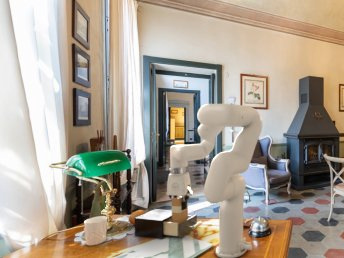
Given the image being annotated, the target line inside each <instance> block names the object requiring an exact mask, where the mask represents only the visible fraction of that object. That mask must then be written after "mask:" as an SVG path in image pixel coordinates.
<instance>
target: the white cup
mask: <svg viewBox="0 0 344 258" xmlns="http://www.w3.org/2000/svg"><path fill="white" fill-rule="evenodd" d="M83 225H84V227H83V228H84V239H85V245H86V246H96V245H99V244H102V243H104V242H105V241H106V240H107V232H108V231H107V217H106V216H98V217H93V218H90V219H89V218H87V219H86V220H84V222H83Z"/></svg>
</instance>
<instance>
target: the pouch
mask: <svg viewBox="0 0 344 258" xmlns="http://www.w3.org/2000/svg"><path fill="white" fill-rule="evenodd" d="M105 179H106V180H107V181H108V179H107V178H105ZM101 185H102V186H103V188H104V191H108V182H107V183H106V182H105V181H103V179H101V180H100V182H97V183H96V186H95V188H94V190H95V191H94V197H93V200H92V201H91V205H92V206H91V209H90V213H89V217H88V219H90V218H93V217H98V216H106V215H103V214H101V211H102V210H103V209H105V207H106V203H105V201H106V196H102V192H101V188H100V187H101ZM106 217H107V216H106ZM107 222H108V217H107Z"/></svg>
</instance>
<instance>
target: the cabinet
mask: <svg viewBox="0 0 344 258" xmlns="http://www.w3.org/2000/svg"><path fill="white" fill-rule="evenodd" d="M170 218H172V209H163V208H154V209H152V210H150V211H148V212H146V213H145V214H143V215H141V216H138V217H136V218H135V225H134V236H135V237H141V238H150V239H159V240H163V239H164V238H166V237H167V236H168V235H163V222H164V221H166V220H168V219H170Z"/></svg>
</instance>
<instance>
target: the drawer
mask: <svg viewBox="0 0 344 258" xmlns="http://www.w3.org/2000/svg"><path fill="white" fill-rule="evenodd" d="M202 224H203V221H201V220H200V221H198V214H194V215H189V214H188V219H187V220H185V221H183V222H182V223H180V224H179V223H175V222H172V218H170V219H168V220H166V221H164V222H163V235H167V236H173V237H178V238H179V239H183V238H184V237H186V236H187V235H188V234H189V233H191V232H193V231H194V230H196V229H197V228H198V227H199V226H201V225H202Z"/></svg>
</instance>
